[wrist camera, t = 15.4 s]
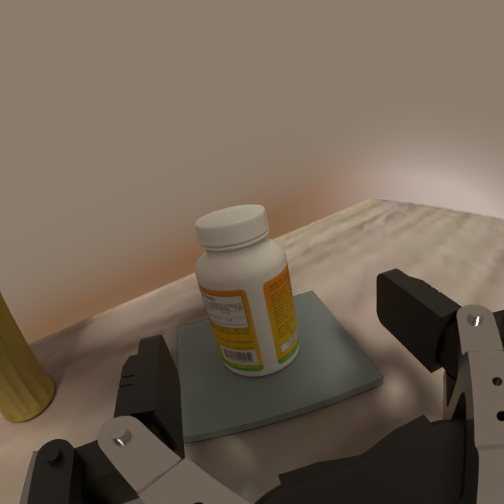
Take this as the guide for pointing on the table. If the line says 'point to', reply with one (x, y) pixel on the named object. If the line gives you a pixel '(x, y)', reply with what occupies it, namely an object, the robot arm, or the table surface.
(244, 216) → the supplement bottle
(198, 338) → the slate pad
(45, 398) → the vase
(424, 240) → the table surface
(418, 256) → the table surface
